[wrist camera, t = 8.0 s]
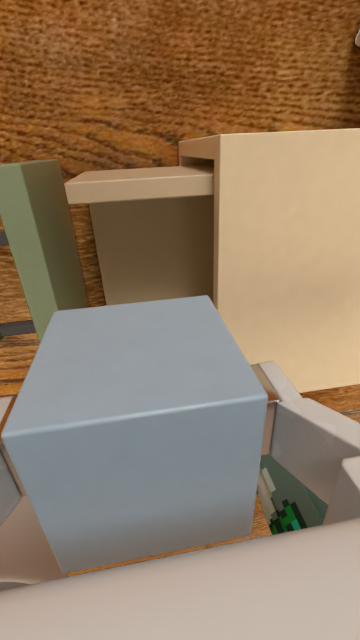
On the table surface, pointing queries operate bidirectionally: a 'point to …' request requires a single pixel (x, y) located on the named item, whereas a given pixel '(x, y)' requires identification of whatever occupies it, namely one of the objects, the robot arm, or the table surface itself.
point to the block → (138, 432)
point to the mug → (25, 550)
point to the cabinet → (288, 248)
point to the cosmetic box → (358, 39)
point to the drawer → (107, 235)
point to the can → (287, 499)
